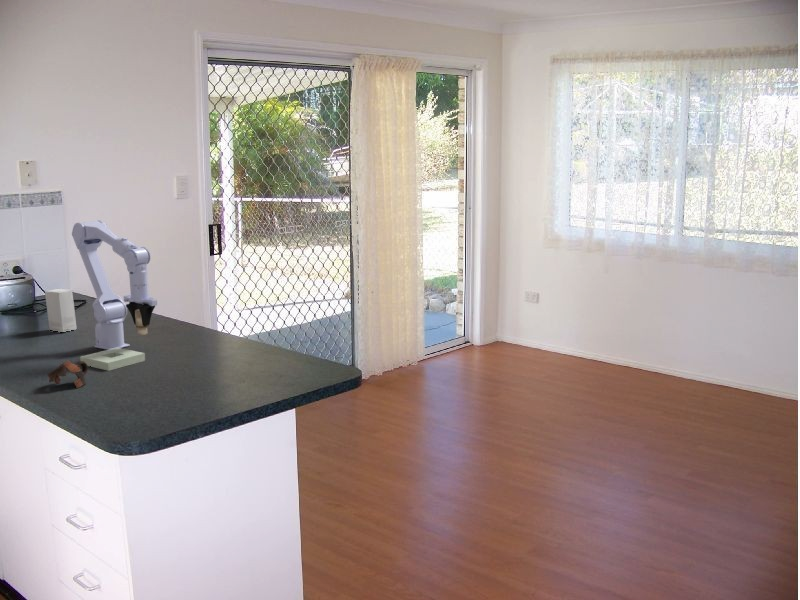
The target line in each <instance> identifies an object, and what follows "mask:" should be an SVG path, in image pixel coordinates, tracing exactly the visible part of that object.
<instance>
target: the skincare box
mask: <svg viewBox="0 0 800 600" xmlns="http://www.w3.org/2000/svg"><path fill="white" fill-rule="evenodd" d="M44 295H45V304H46V312H47V319H48V326H49V331H50V330H53V331H58V332H57V333H60V332H66V331H70V332H72V331H71V330H74V331H77V330H78V329H77V320H76V319H77V318H76V312H75V303H74V295H73V289H67V288H55V289H49V290H44ZM76 329H77V330H76ZM53 331H52V332H53ZM66 333H67V332H66Z"/></svg>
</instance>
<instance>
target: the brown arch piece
mask: <svg viewBox="0 0 800 600" xmlns="http://www.w3.org/2000/svg"><path fill="white" fill-rule="evenodd" d="M66 370H68V372H70V373H71V374H75V375H76V376H77V379H76V380H75V381H73V384H74V385H75V387H76V389H79V388H81V387H82V386H84V385H85V384H86V383H87V382H86V381H87V380H86V379H85V376H86V374H87V373H88V370H89V366H87V364H86V363H85V362H84V361H81V360H79V361H77V362H76V363H72V362H71V361H70V360H66V361H65V362H63V363H62V364H60V365H59V366H57V367H55V369H54V370H50V371H49V372H48V373H47V376H48V382H49V383H51V382H54V383H56V384H57V383H58V384H60V383H61V380H62V379H61V378H60V377H66V376H67V374H66Z"/></svg>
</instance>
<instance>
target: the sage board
mask: <svg viewBox="0 0 800 600" xmlns="http://www.w3.org/2000/svg"><path fill="white" fill-rule="evenodd" d="M79 359H80V360H79V361H84V362H85V363H86V364H87V366H88V367H90V366H91V368H95V369H99V370H104V371H113V370H116V369H120V368H124V367H127V366H131V365H134V364H138V363H142V362H145V361H146V353H145V352H140V351H136V350H131V349H127V348H113V349H109V350H106V349H104V350H103V351H98V352H94V353H89V354H86V355H81V356H79Z"/></svg>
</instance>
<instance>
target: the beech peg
mask: <svg viewBox="0 0 800 600" xmlns="http://www.w3.org/2000/svg"><path fill="white" fill-rule="evenodd" d="M135 320H136V325H135V328H136V330H137V335H138V336H145V335H148V327H149V325H148V326H143V324H142V317H141V313H140V311H139V309H138V310H135Z"/></svg>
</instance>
